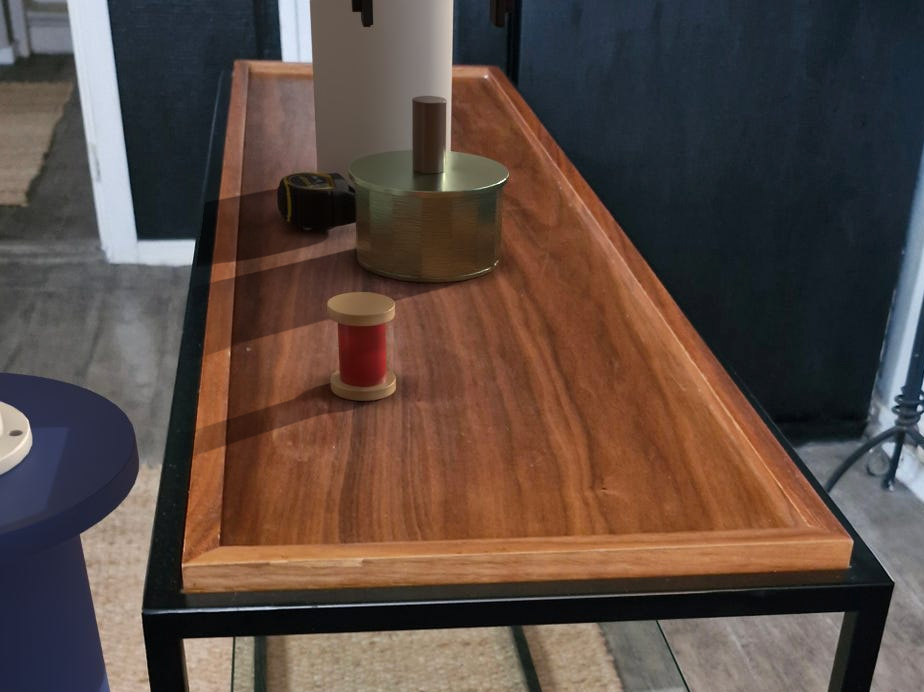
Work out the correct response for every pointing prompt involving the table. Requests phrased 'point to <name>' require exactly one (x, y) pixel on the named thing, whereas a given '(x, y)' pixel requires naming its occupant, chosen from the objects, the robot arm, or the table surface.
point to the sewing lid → (428, 162)
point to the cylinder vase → (376, 75)
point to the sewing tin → (428, 235)
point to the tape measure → (316, 200)
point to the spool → (362, 345)
